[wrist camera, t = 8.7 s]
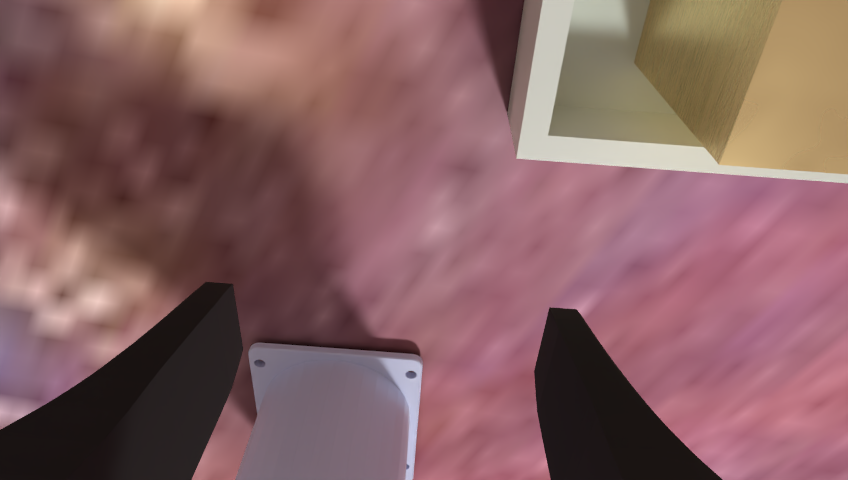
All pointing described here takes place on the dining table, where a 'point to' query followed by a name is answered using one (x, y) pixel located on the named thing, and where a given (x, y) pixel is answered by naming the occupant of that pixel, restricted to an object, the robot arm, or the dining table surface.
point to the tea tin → (754, 78)
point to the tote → (601, 95)
